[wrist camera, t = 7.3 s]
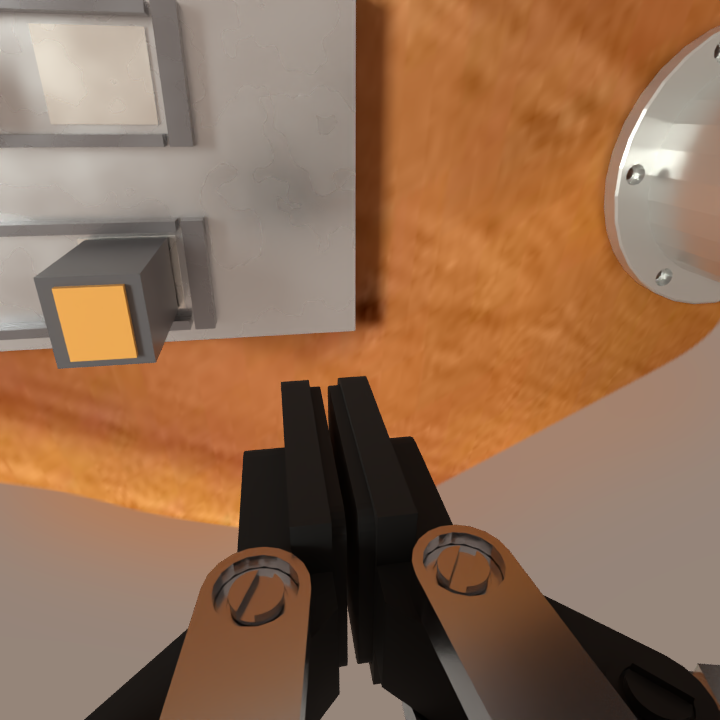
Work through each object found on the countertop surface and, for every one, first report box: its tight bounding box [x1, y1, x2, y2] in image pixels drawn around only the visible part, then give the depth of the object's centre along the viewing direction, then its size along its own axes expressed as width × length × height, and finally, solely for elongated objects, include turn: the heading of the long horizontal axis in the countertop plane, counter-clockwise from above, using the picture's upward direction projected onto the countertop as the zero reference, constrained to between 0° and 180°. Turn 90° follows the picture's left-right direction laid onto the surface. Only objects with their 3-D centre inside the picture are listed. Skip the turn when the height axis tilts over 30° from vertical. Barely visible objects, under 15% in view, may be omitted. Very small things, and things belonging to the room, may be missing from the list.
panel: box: [0, 0, 356, 351], centre depth 20 cm, size 22×13×2 cm, turn 90°
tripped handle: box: [33, 238, 178, 369], centre depth 18 cm, size 3×3×5 cm
